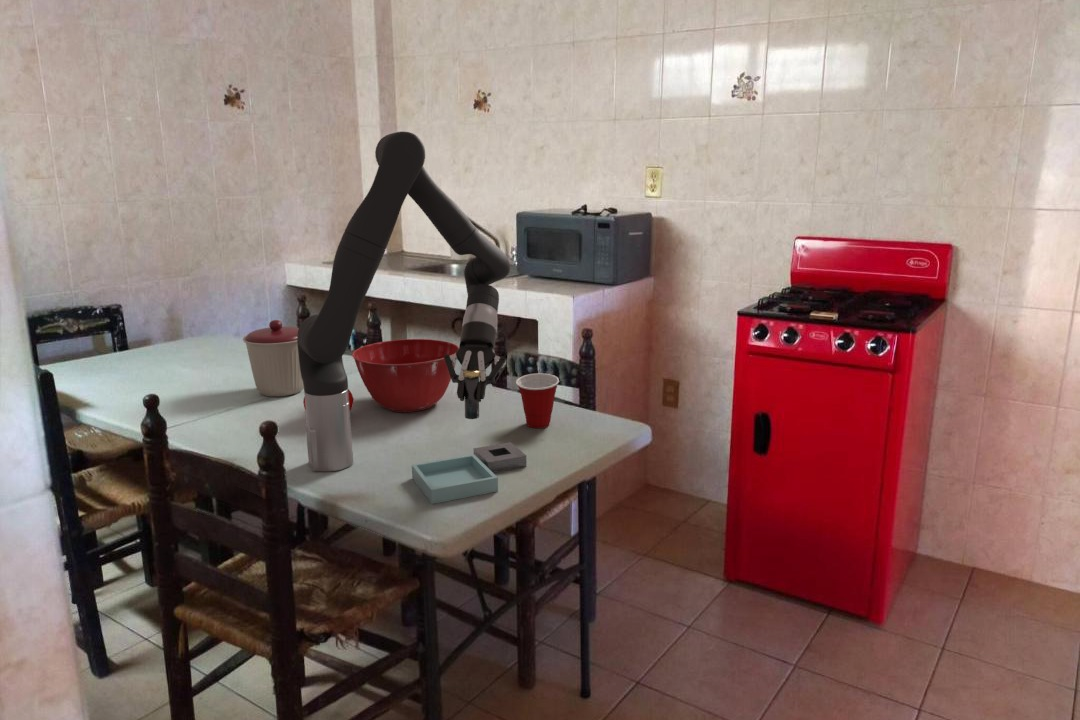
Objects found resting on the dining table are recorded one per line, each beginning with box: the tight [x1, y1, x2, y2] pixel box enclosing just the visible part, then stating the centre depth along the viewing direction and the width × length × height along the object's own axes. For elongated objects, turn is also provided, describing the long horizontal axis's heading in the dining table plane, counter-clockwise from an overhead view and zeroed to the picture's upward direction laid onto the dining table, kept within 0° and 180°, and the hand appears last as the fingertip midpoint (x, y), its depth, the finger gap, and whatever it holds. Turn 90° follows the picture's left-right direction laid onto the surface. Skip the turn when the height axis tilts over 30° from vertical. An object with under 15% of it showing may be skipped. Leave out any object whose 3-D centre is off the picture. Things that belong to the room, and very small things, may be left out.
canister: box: [242, 319, 304, 397], centre depth 224 cm, size 18×18×21 cm
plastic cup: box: [515, 373, 560, 429], centre depth 197 cm, size 11×11×12 cm
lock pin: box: [463, 369, 480, 420], centre depth 164 cm, size 4×4×10 cm
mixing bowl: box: [351, 338, 459, 413], centre depth 213 cm, size 28×28×15 cm
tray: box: [411, 453, 499, 505], centre depth 163 cm, size 14×14×3 cm
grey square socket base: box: [473, 441, 527, 473], centre depth 175 cm, size 9×9×2 cm
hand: (470, 399), depth 162 cm, fingers closed on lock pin, 3 cm apart
